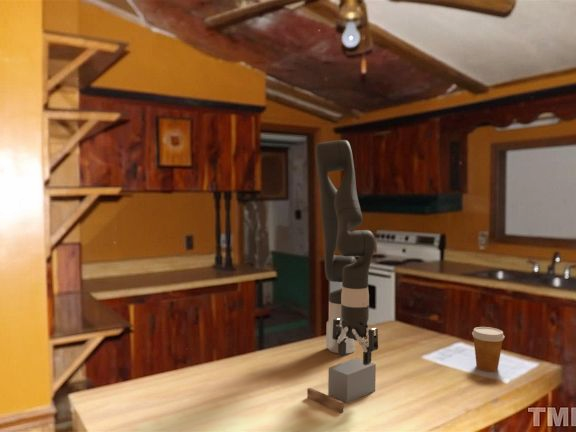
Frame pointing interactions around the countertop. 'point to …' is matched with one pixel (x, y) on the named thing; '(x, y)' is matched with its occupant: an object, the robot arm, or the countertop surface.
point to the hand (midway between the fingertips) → (354, 360)
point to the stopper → (325, 400)
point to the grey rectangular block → (351, 380)
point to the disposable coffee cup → (487, 347)
